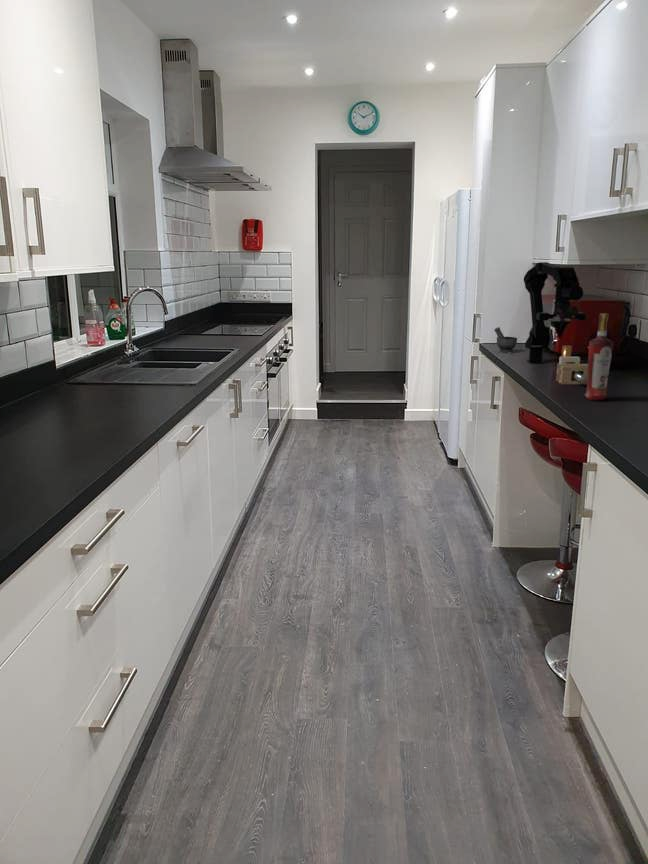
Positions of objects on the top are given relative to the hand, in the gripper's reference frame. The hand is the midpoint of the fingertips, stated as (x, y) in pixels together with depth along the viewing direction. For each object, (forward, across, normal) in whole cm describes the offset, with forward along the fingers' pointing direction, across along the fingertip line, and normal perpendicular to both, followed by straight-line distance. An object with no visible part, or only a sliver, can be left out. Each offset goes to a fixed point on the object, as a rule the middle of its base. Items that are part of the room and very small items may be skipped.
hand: (559, 337), depth 273 cm
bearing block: (+13, -2, -29) cm, 32 cm away
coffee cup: (+13, +16, -2) cm, 21 cm away
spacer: (+13, -2, -22) cm, 25 cm away
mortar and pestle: (+13, -11, +48) cm, 51 cm away
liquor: (+13, -4, -58) cm, 60 cm away
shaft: (+13, -2, -27) cm, 30 cm away
